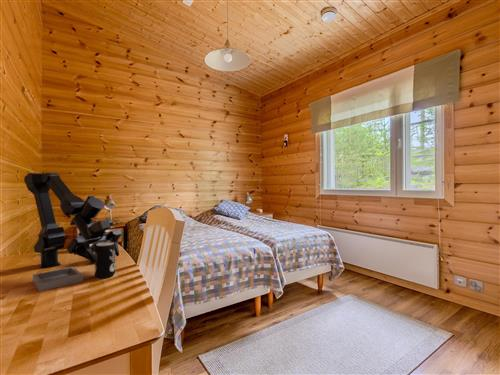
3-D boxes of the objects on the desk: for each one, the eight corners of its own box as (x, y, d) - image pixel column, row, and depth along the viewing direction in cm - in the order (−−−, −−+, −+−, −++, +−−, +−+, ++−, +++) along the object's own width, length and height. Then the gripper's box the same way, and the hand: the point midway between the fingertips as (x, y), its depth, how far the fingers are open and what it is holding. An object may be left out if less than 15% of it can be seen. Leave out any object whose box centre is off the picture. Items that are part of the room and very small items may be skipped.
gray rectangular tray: (32, 281, 90) (32, 274, 90) (73, 273, 99) (73, 266, 99) (39, 291, 82) (39, 283, 82) (83, 281, 91) (83, 274, 91)
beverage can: (106, 280, 93) (106, 246, 92) (90, 278, 94) (90, 245, 94) (119, 273, 99) (119, 242, 99) (103, 272, 100) (103, 241, 100)
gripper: (72, 214, 89) (95, 250, 85) (118, 209, 106) (139, 239, 102) (57, 236, 92) (78, 271, 88) (104, 227, 109) (124, 257, 105)
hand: (107, 258), depth 96 cm, fingers open, 9 cm apart
